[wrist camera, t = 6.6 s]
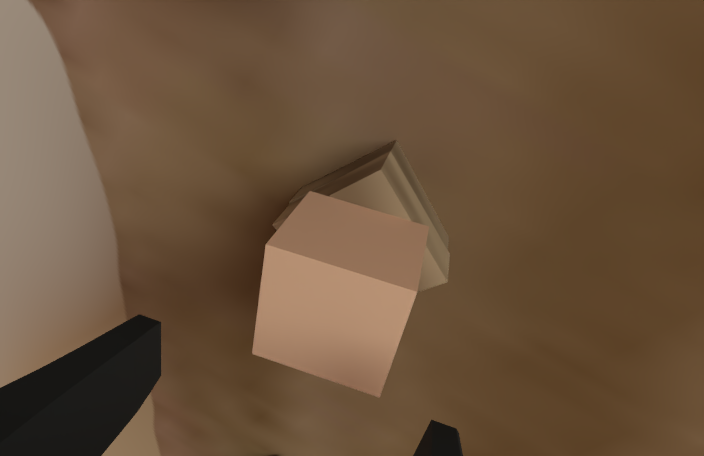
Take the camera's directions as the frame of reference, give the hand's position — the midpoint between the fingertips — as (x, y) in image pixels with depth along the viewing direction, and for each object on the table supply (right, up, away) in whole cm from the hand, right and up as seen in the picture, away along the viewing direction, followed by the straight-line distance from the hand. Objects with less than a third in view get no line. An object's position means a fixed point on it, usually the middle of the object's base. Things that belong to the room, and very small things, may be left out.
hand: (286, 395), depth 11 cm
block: (+2, +3, +6) cm, 7 cm away
